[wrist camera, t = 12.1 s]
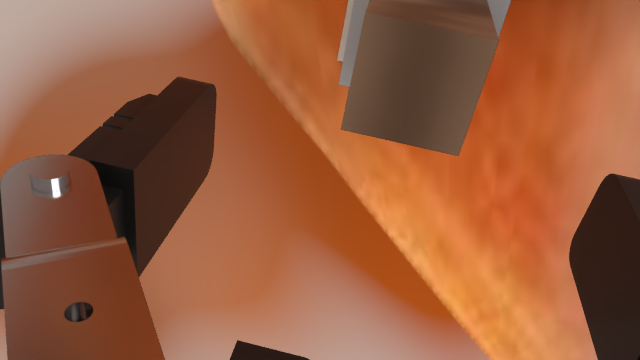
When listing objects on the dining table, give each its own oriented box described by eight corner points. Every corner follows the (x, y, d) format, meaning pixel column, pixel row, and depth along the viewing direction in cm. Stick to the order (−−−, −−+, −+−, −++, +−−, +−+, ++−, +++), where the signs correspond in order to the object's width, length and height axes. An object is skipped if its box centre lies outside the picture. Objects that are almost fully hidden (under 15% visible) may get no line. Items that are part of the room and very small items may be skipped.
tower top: (508, -50, 29) (520, -29, 25) (468, 76, 33) (473, 113, 28) (374, -75, 29) (364, -59, 25) (351, 52, 33) (338, 84, 29)
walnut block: (486, -2, 25) (499, 40, 20) (454, 97, 28) (458, 156, 23) (378, -25, 26) (364, 11, 21) (357, 76, 28) (340, 129, 23)
